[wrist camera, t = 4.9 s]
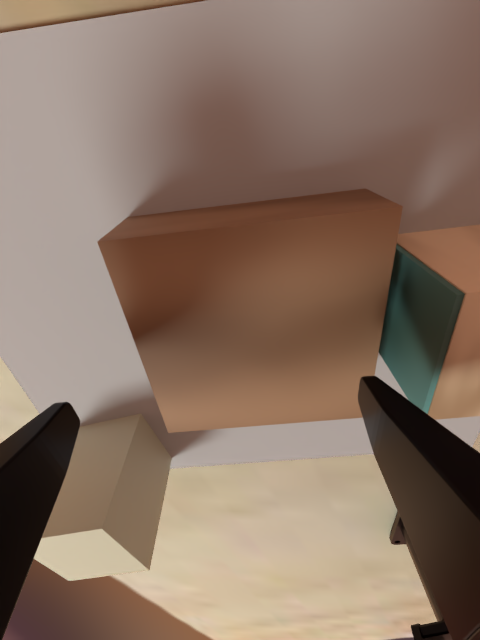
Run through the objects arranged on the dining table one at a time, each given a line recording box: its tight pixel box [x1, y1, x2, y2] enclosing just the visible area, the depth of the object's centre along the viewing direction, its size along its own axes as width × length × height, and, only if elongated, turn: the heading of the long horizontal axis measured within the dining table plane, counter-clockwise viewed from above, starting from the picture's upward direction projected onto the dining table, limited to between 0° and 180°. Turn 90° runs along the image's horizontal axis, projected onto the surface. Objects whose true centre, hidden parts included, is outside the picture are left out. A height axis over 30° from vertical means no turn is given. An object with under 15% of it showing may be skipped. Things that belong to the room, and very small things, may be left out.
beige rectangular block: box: [34, 414, 172, 581], centre depth 17 cm, size 4×4×6 cm
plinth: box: [97, 188, 403, 433], centre depth 13 cm, size 9×9×3 cm
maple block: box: [379, 225, 480, 420], centre depth 11 cm, size 5×5×5 cm
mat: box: [0, 0, 480, 469], centre depth 15 cm, size 22×26×1 cm
